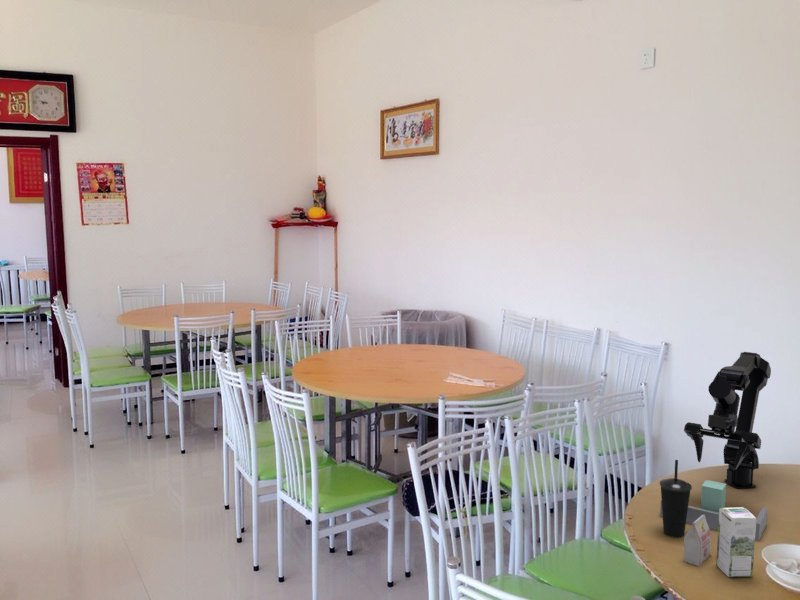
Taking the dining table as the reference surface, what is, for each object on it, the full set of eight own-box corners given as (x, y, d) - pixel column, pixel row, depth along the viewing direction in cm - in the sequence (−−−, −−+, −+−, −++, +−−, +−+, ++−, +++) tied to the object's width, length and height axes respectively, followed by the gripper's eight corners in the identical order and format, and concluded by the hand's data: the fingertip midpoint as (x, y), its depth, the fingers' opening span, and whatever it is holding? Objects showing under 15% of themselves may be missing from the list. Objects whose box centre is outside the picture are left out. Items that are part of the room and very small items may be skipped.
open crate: (671, 504, 192) (672, 487, 191) (766, 526, 178) (767, 508, 177) (660, 518, 183) (660, 501, 182) (758, 543, 168) (759, 524, 168)
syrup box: (739, 564, 158) (742, 505, 156) (753, 577, 152) (756, 516, 151) (715, 565, 158) (718, 506, 156) (728, 578, 152) (731, 517, 150)
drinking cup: (651, 531, 175) (653, 457, 173) (673, 526, 178) (676, 453, 176) (673, 544, 168) (676, 467, 166) (696, 538, 171) (699, 462, 169)
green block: (704, 515, 183) (706, 479, 182) (724, 519, 180) (726, 483, 179) (700, 521, 179) (701, 485, 178) (720, 526, 176) (722, 489, 175)
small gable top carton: (683, 561, 160) (685, 521, 159) (694, 551, 165) (696, 512, 164) (699, 566, 158) (701, 525, 156) (709, 556, 162) (711, 516, 161)
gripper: (684, 396, 188) (674, 450, 183) (758, 406, 177) (749, 464, 172) (693, 409, 196) (683, 461, 191) (765, 420, 185) (756, 475, 180)
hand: (716, 465), depth 183 cm, fingers open, 9 cm apart
